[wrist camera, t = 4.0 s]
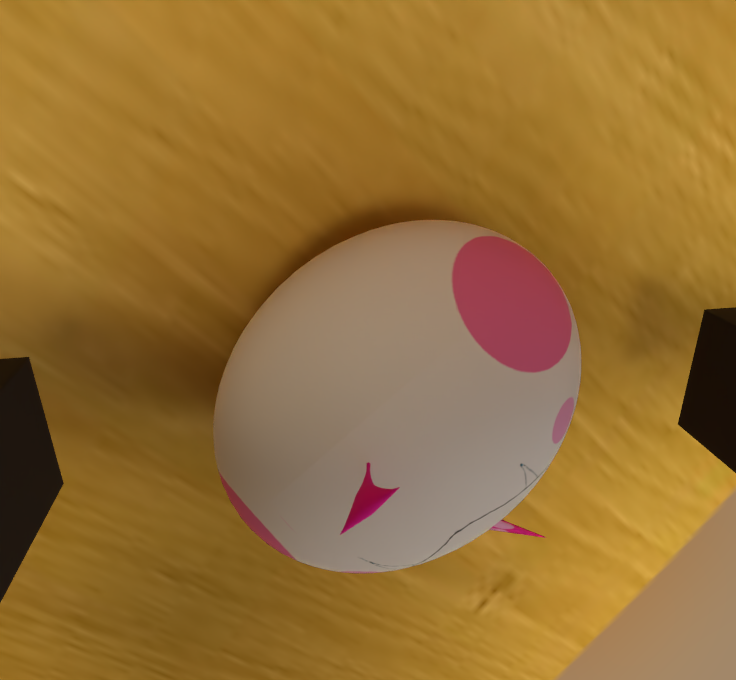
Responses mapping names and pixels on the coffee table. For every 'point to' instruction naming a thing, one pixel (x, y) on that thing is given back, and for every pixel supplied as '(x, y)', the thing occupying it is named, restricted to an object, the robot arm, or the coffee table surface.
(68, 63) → the coffee table surface
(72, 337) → the coffee table surface
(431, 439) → the stress ball
